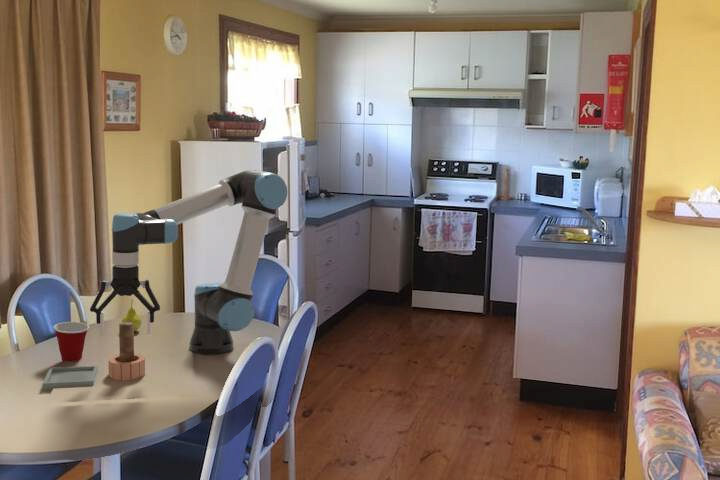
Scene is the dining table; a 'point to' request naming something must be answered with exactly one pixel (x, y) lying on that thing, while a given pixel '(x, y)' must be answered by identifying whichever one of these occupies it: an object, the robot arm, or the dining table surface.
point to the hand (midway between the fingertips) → (125, 333)
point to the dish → (70, 376)
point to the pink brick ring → (126, 368)
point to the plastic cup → (71, 339)
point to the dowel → (126, 341)
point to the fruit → (132, 318)
